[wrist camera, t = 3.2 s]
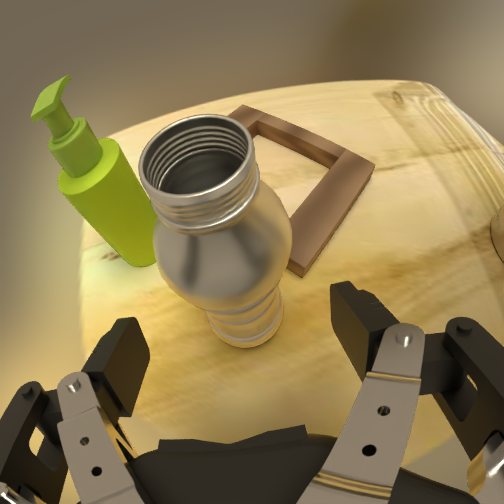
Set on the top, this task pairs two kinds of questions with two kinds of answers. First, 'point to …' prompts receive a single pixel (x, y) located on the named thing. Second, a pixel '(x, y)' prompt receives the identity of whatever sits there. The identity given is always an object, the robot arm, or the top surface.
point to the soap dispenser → (98, 180)
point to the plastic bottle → (218, 226)
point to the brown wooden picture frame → (324, 194)
